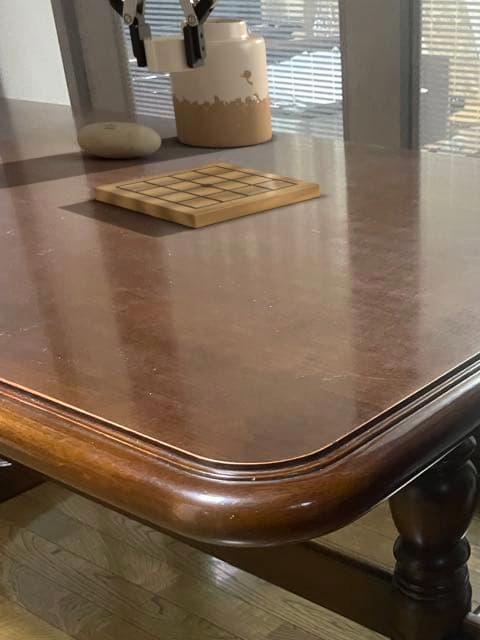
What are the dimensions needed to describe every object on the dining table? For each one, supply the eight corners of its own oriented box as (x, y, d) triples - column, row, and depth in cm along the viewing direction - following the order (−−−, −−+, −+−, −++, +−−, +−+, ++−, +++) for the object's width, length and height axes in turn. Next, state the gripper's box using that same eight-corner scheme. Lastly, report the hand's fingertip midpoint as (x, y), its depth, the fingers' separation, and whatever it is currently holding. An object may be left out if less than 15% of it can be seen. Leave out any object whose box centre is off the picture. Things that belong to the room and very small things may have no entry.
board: (95, 199, 110) (92, 186, 109) (219, 173, 123) (218, 161, 122) (195, 228, 100) (193, 214, 99) (320, 196, 112) (319, 183, 111)
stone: (157, 143, 127) (71, 117, 124) (154, 181, 132) (71, 157, 129) (165, 122, 130) (82, 97, 127) (162, 160, 135) (81, 137, 132)
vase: (161, 137, 145) (145, 19, 135) (242, 127, 152) (232, 15, 143) (206, 152, 135) (191, 26, 125) (290, 140, 143) (282, 21, 133)
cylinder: (138, 69, 97) (133, 38, 95) (176, 65, 100) (172, 34, 98) (166, 73, 94) (161, 41, 92) (205, 68, 97) (201, 37, 95)
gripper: (43, -143, 85) (83, 69, 95) (210, -146, 82) (232, 72, 92) (82, -138, 91) (115, 60, 101) (238, -141, 88) (256, 64, 98)
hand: (171, 64), depth 97 cm, fingers closed on cylinder, 5 cm apart
